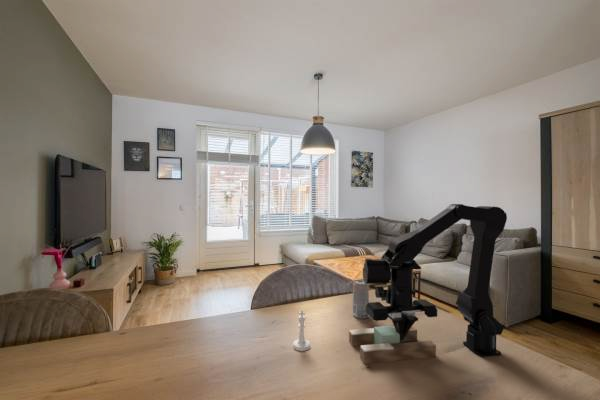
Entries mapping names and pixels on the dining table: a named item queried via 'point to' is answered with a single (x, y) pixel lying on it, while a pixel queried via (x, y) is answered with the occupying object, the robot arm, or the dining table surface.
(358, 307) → the energy drink
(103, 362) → the dining table surface
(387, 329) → the block
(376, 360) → the chute
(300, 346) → the chess piece
